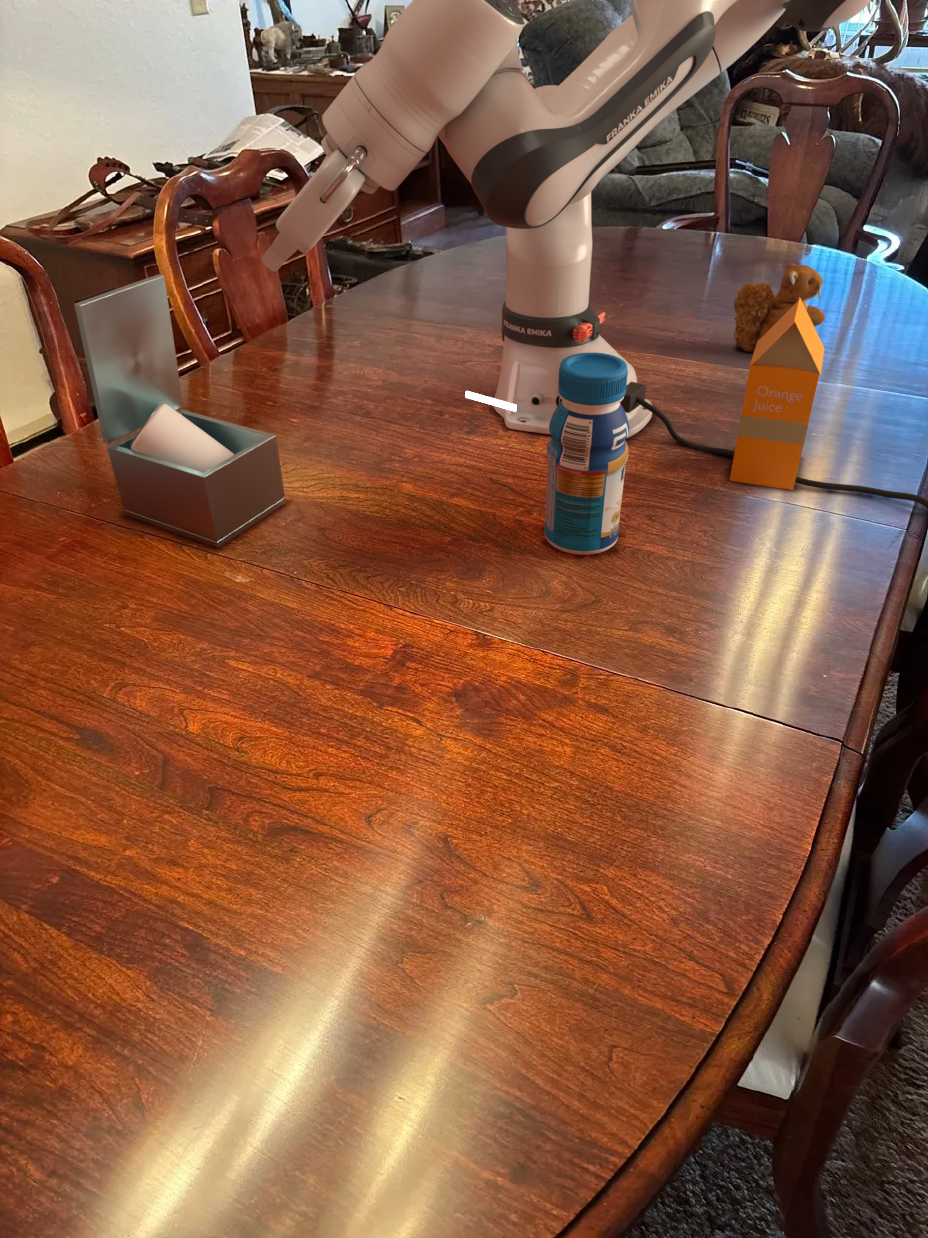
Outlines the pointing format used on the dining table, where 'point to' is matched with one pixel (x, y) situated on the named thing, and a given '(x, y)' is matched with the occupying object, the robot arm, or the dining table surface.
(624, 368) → the beverage bottle
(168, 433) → the can
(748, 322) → the stuffed squirrel
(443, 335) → the dining table surface
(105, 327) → the lid
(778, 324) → the orange juice
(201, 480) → the open metal box
